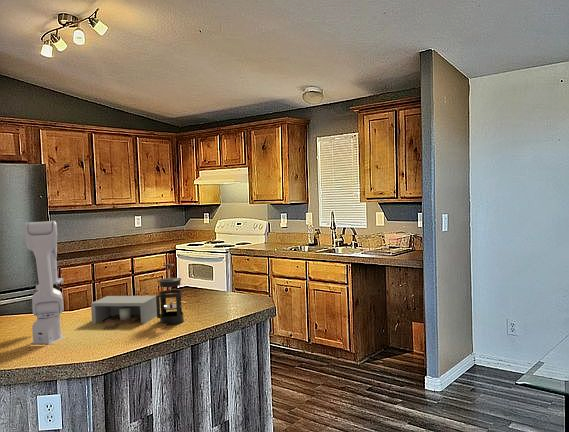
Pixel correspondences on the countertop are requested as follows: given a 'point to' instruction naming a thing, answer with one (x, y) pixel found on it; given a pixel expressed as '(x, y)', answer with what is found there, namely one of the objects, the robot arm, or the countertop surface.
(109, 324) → the tray
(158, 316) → the french press
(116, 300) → the large grey box
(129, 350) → the countertop surface
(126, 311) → the cream rounded block
